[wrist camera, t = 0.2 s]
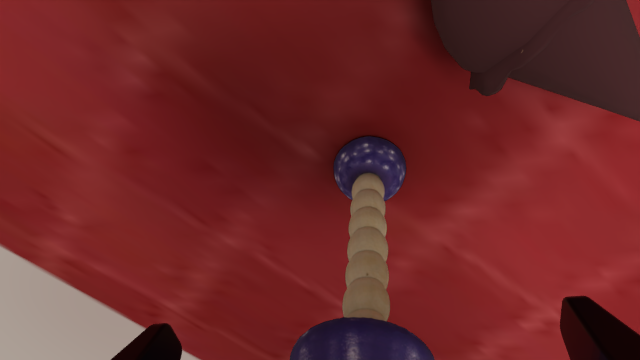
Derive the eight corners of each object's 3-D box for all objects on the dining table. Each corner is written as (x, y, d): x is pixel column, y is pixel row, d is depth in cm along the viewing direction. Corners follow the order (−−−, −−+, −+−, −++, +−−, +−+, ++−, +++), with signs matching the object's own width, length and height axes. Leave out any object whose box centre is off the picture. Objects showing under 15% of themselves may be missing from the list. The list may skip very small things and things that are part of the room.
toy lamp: (413, 199, 24) (471, 558, 10) (339, 212, 25) (295, 552, 11) (398, 128, 22) (444, 455, 8) (318, 145, 23) (229, 461, 9)
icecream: (847, 39, 12) (484, -321, 10) (657, 217, 14) (316, -64, 12) (666, 51, 19) (426, -166, 17) (553, 171, 21) (323, -15, 19)
